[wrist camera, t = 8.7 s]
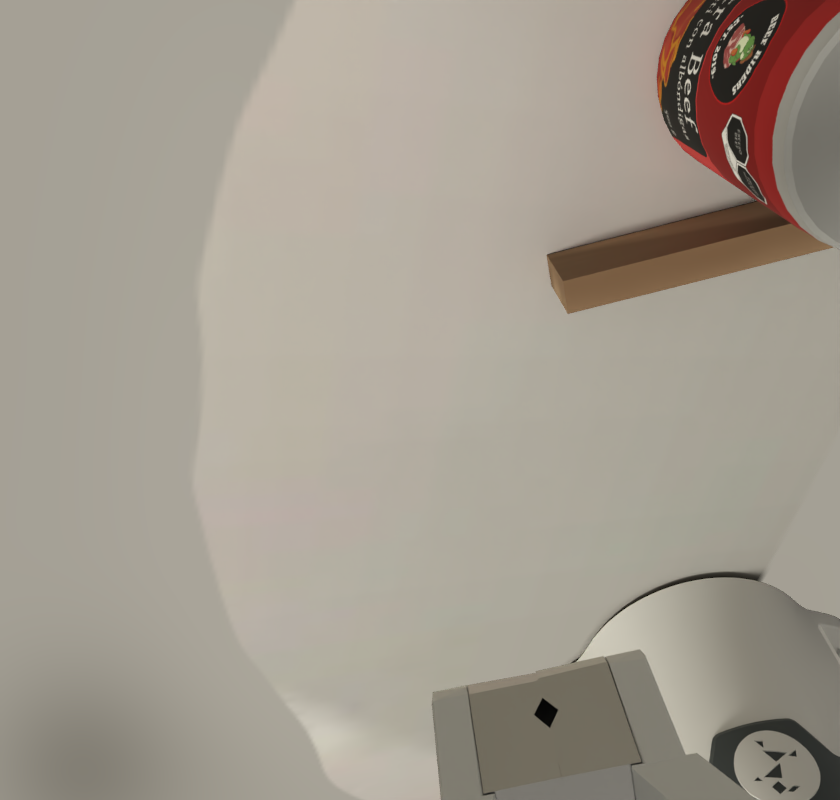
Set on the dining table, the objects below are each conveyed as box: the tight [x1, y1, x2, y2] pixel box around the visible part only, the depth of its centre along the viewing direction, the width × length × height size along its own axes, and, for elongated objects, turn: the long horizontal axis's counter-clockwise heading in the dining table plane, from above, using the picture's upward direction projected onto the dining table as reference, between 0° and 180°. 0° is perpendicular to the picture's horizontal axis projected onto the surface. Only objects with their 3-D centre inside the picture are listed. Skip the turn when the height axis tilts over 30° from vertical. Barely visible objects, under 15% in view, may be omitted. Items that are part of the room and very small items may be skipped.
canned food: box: [657, 0, 840, 249], centre depth 26 cm, size 8×8×11 cm
